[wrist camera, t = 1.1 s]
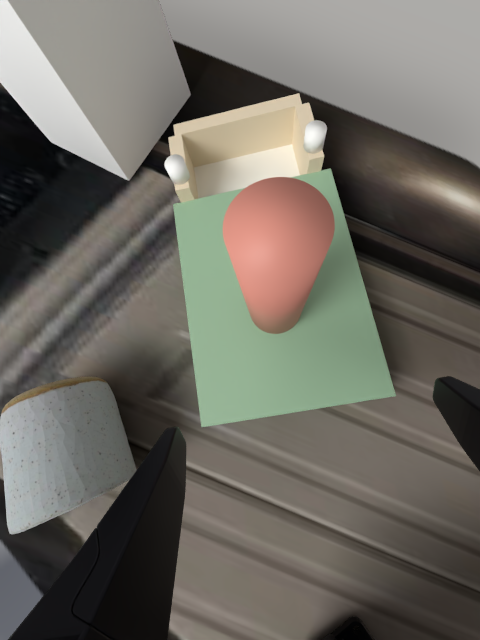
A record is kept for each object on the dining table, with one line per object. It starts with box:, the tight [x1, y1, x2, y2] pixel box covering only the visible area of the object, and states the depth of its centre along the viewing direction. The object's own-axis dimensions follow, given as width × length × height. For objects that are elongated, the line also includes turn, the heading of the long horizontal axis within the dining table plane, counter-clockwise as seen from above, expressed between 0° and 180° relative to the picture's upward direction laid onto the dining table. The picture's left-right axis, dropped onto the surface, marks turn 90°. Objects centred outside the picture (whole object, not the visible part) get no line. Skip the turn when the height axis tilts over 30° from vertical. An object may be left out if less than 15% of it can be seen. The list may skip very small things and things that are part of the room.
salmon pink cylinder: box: [223, 177, 335, 334], centre depth 16 cm, size 4×4×12 cm
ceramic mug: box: [0, 376, 136, 534], centre depth 20 cm, size 11×8×8 cm
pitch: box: [173, 168, 396, 427], centre depth 23 cm, size 19×14×2 cm
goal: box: [165, 94, 327, 203], centre depth 25 cm, size 7×13×6 cm, turn 99°
